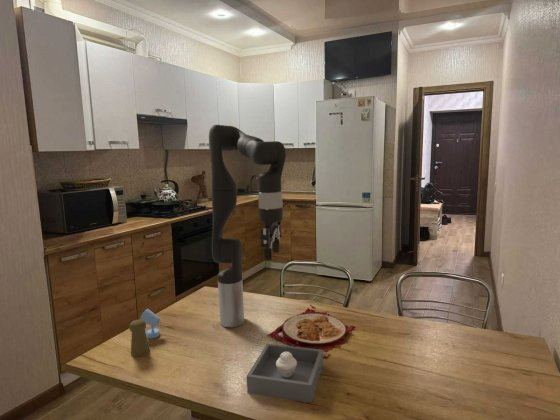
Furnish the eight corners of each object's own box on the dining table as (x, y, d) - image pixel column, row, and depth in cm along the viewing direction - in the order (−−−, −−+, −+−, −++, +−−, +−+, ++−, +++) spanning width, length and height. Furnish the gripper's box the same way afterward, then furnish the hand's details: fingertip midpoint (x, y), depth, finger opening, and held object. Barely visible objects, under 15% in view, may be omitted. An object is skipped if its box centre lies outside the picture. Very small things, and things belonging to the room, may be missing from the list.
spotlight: (139, 337, 138) (157, 339, 136) (137, 311, 136) (154, 312, 135) (147, 331, 142) (164, 332, 141) (144, 306, 141) (161, 307, 139)
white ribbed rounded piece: (299, 379, 108) (298, 356, 107) (277, 382, 108) (277, 359, 106) (295, 367, 114) (294, 345, 113) (274, 369, 114) (274, 347, 112)
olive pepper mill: (143, 357, 125) (140, 325, 123) (127, 355, 126) (123, 324, 124) (153, 347, 130) (150, 317, 129) (137, 346, 132) (134, 316, 130)
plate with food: (266, 339, 136) (266, 330, 135) (308, 311, 156) (308, 303, 155) (325, 362, 120) (325, 352, 120) (363, 328, 141) (363, 319, 140)
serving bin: (267, 357, 122) (266, 343, 121) (323, 365, 117) (322, 349, 116) (247, 392, 105) (246, 376, 104) (311, 402, 100) (311, 385, 99)
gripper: (266, 202, 127) (268, 249, 130) (251, 209, 114) (253, 261, 116) (287, 202, 125) (289, 250, 128) (275, 209, 112) (277, 263, 114)
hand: (272, 255), depth 122 cm, fingers open, 8 cm apart
